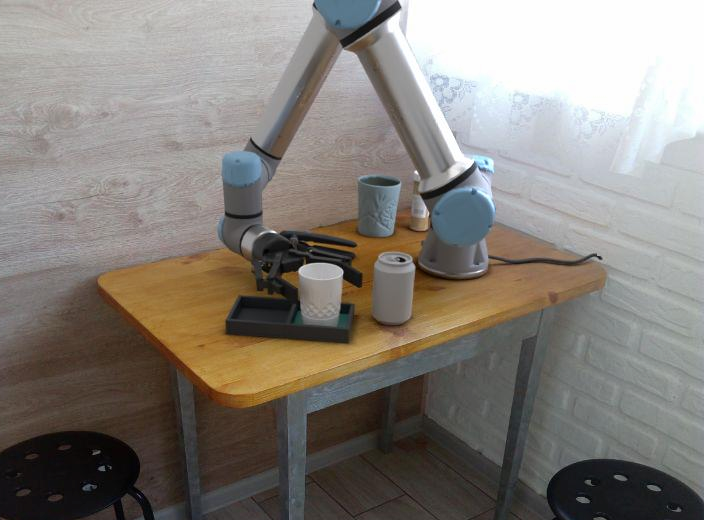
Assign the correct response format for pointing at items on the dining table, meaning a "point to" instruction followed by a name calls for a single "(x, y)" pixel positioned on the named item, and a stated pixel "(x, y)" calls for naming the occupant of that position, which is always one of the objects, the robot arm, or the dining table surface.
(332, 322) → the white cup
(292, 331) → the divided tray
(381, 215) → the embossed blue cup
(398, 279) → the can
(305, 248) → the can opener
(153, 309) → the dining table surface
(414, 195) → the sprinkles bottle
